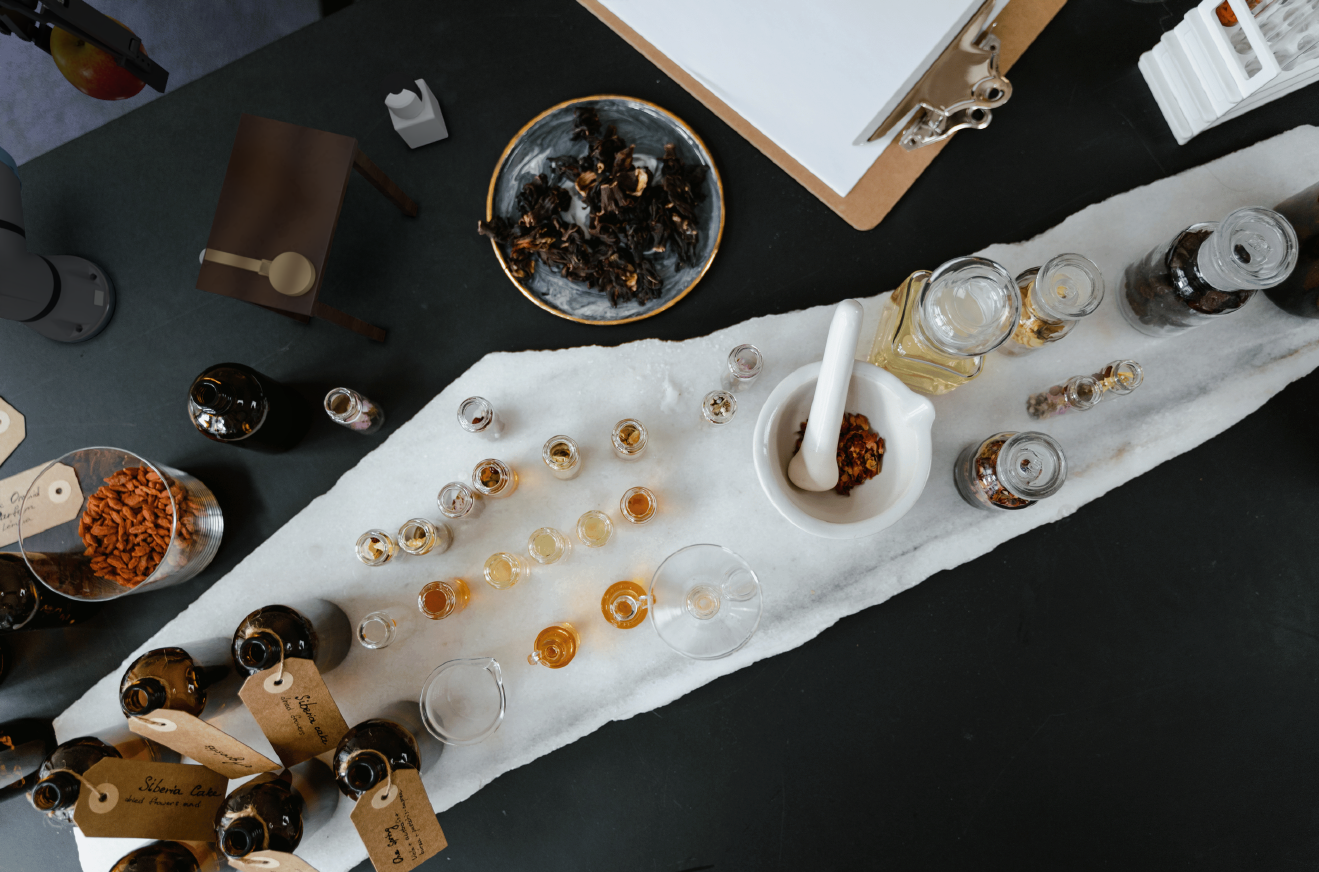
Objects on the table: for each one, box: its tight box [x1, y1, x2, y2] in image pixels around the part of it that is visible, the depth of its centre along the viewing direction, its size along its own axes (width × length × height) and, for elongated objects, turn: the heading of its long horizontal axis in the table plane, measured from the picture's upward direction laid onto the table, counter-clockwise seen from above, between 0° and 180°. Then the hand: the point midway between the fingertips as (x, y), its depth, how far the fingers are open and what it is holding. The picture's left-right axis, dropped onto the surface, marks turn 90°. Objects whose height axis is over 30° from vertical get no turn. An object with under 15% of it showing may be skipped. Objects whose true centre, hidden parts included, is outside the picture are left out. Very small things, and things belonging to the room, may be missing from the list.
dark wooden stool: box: [194, 112, 419, 343], centre depth 106 cm, size 17×26×24 cm, turn 166°
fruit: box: [50, 13, 149, 102], centre depth 79 cm, size 10×9×8 cm
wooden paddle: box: [205, 248, 315, 297], centre depth 93 cm, size 16×6×1 cm, turn 76°
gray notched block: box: [379, 71, 449, 150], centre depth 112 cm, size 7×7×12 cm
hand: (127, 75), depth 83 cm, fingers closed on fruit, 9 cm apart
